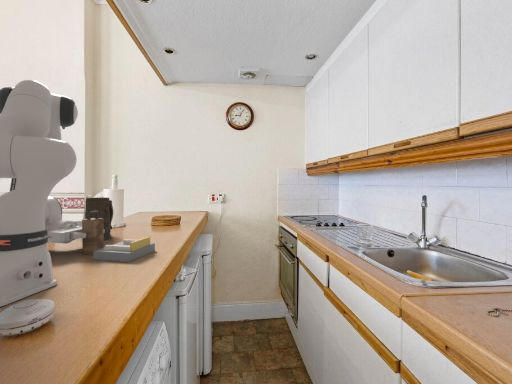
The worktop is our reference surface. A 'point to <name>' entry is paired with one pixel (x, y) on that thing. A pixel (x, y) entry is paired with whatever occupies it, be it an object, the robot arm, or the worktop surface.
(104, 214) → the beer stein
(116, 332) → the worktop surface
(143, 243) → the dock
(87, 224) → the brown handled block
